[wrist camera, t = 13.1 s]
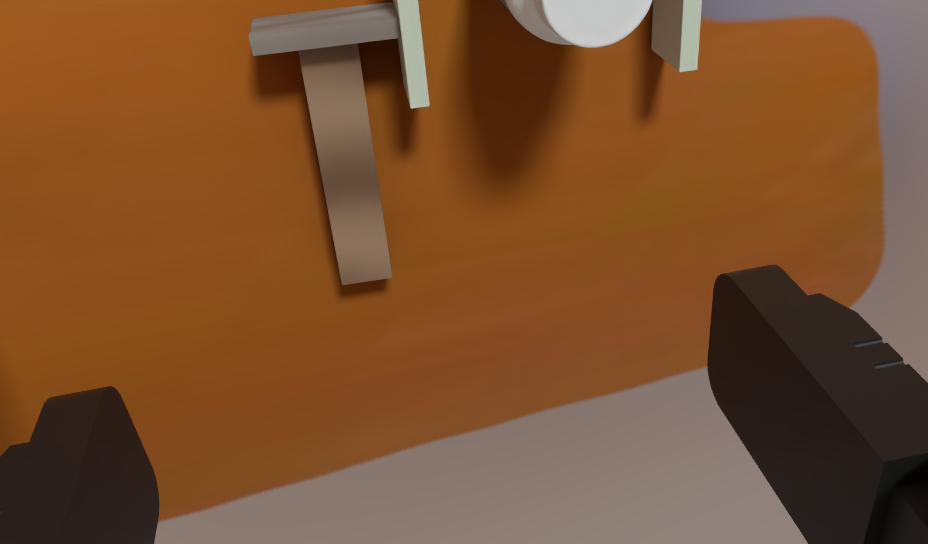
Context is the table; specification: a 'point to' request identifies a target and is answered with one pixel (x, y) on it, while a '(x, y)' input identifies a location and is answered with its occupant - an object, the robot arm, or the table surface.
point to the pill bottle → (579, 19)
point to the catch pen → (670, 40)
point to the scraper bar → (340, 122)
